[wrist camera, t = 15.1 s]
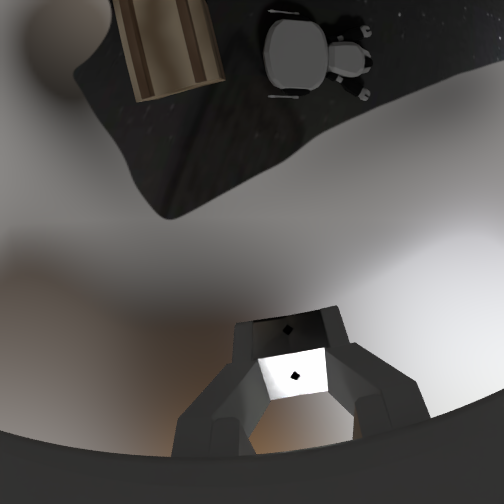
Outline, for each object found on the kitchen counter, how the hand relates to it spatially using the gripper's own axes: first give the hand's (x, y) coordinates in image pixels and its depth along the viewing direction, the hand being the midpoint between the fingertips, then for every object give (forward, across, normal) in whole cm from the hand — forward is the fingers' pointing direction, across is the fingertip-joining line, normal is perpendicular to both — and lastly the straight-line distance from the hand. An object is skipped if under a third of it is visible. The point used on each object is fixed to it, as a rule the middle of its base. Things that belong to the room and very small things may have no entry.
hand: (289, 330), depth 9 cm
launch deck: (+39, -8, +19) cm, 44 cm away
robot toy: (+40, +10, +10) cm, 42 cm away
